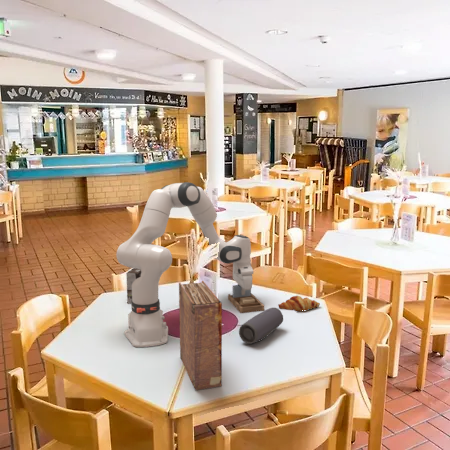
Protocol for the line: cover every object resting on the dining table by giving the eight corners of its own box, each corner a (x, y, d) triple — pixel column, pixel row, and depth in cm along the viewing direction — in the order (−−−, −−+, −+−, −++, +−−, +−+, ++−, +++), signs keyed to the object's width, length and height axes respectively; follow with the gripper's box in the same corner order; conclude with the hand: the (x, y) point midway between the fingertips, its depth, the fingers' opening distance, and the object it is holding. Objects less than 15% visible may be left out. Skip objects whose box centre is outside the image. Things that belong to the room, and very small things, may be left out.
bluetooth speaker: (265, 325, 209) (266, 304, 207) (284, 330, 204) (284, 308, 202) (237, 343, 191) (237, 320, 189) (256, 349, 186) (257, 325, 184)
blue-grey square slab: (250, 300, 237) (251, 285, 236) (234, 302, 235) (234, 287, 233) (249, 298, 239) (249, 283, 238) (232, 300, 237) (232, 285, 235)
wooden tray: (264, 312, 224) (264, 305, 223) (240, 315, 220) (240, 308, 220) (250, 298, 243) (250, 292, 242) (228, 300, 239) (228, 294, 239)
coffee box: (139, 304, 235) (137, 273, 232) (127, 303, 236) (125, 272, 233) (145, 298, 243) (144, 268, 240) (134, 297, 245) (132, 267, 242)
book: (180, 357, 179) (178, 282, 173) (203, 353, 182) (202, 279, 176) (195, 391, 155) (194, 305, 150) (221, 386, 158) (221, 302, 152)
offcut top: (255, 303, 228) (255, 299, 228) (243, 304, 226) (243, 301, 226) (251, 300, 232) (251, 296, 232) (240, 301, 230) (240, 298, 230)
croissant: (316, 312, 234) (314, 296, 236) (324, 309, 225) (322, 292, 227) (276, 314, 229) (274, 298, 232) (282, 312, 220) (280, 295, 222)
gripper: (229, 262, 243) (229, 287, 245) (242, 272, 223) (242, 300, 226) (241, 261, 244) (241, 286, 247) (254, 271, 225) (254, 299, 228)
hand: (241, 293), depth 236 cm, fingers closed on blue-grey square slab, 2 cm apart
